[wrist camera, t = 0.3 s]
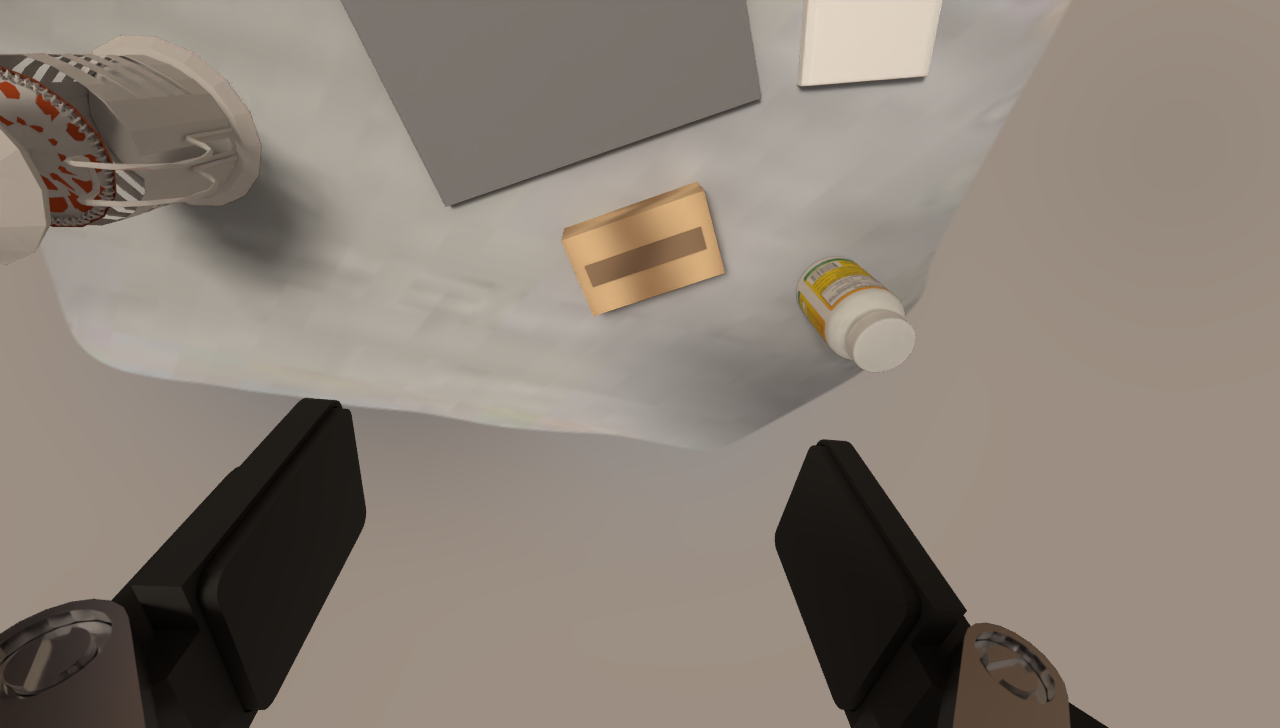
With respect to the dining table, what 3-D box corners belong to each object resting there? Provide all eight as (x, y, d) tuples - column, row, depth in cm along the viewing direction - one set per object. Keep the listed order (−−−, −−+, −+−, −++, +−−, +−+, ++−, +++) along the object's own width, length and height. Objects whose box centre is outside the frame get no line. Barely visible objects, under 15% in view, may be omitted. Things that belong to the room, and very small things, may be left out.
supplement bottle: (810, 248, 38) (867, 299, 30) (873, 262, 39) (944, 316, 31) (784, 311, 41) (829, 373, 33) (843, 323, 42) (901, 387, 34)
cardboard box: (696, 180, 36) (704, 191, 33) (716, 257, 39) (725, 273, 36) (564, 227, 37) (561, 241, 34) (594, 298, 40) (593, 317, 37)
